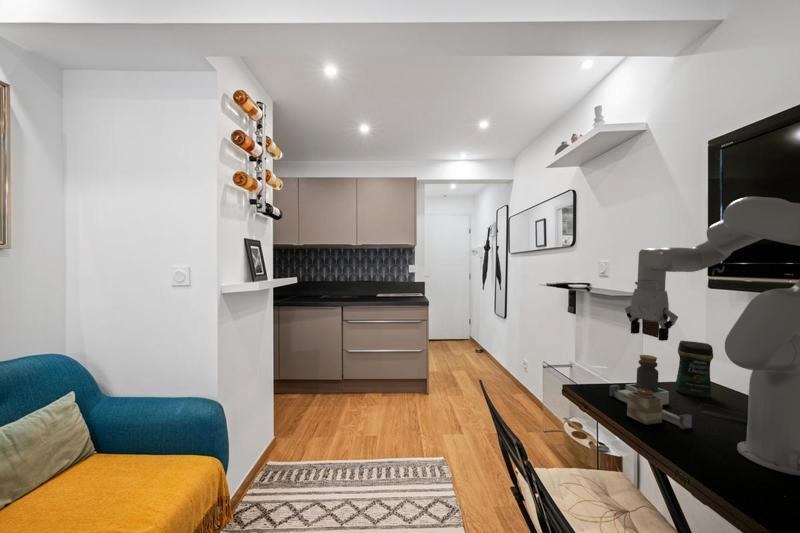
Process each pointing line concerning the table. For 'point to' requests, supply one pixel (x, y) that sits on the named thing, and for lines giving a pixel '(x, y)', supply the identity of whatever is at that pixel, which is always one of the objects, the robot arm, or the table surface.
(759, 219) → the robot arm
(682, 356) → the coffee jar
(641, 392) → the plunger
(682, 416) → the rail
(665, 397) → the carriage
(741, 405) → the table surface
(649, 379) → the bottle
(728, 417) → the phone
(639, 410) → the wooden box
